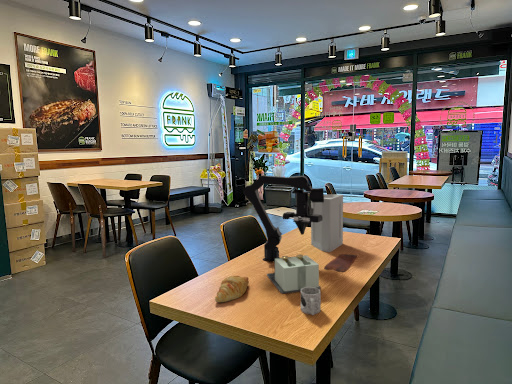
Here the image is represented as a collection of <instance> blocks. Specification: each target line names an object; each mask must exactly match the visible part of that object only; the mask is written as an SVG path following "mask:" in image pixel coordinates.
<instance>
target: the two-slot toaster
mask: <svg viewBox="0 0 512 384" xmlns="http://www.w3.org/2000/svg"><path fill="white" fill-rule="evenodd" d="M274 260H275V262H274V273H275V281H276V282H277V283H278V284H279V286H280V287H281V288H282V289H283V291H292V290H300V289H302V288H305V287H315V288H316V287H319V286H320V275H319V274H320V273H319V272H320V268H319V267H320V264H319V263H318V262H316V260H314V259H313V258H311V257H310V256H309V255H307V254H306V255H305V254H304V255H303V258H301V260H300V259H299V258H297V255H295V256H288V259H286V262H287V263H286V262H285V261H284V260H283V259H282V257H280V258H276V259H274Z"/></svg>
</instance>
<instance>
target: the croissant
mask: <svg viewBox="0 0 512 384" xmlns="http://www.w3.org/2000/svg"><path fill="white" fill-rule="evenodd" d="M248 285H249V277H246V276H240V275H231V276H228V277H225V278H224V279H223V280H222V281H221V282H220V286H219V287H218V291H217V292H216V296H214V301H215V302H216V303H225V302H230V301H233V300H236V299H239V298H241V297H242V296H243V295H244V293H246V290H247V288H248Z"/></svg>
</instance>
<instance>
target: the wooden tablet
mask: <svg viewBox="0 0 512 384" xmlns="http://www.w3.org/2000/svg"><path fill="white" fill-rule="evenodd" d="M357 258H358V255H356V254H348V253H341V254H339V255H338V256H336V257H335V258H333V259H331V261H330V260H329V262H327V264H325V266H324V267H323V268H324V270H327V271H334V272H339V273H345V272H346V271H347V270H349V269H350V268H351V267H352V266H353V264H354V263H355V261H356V260H357Z"/></svg>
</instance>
